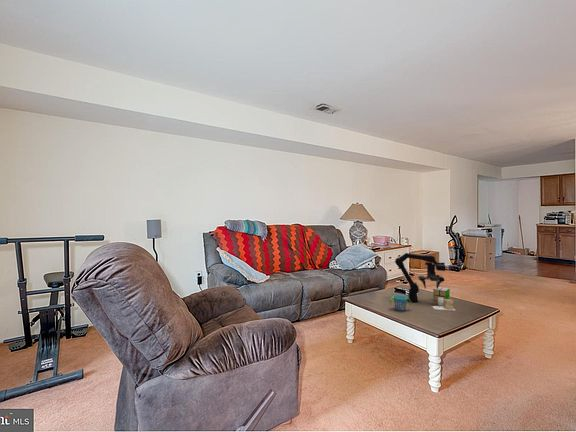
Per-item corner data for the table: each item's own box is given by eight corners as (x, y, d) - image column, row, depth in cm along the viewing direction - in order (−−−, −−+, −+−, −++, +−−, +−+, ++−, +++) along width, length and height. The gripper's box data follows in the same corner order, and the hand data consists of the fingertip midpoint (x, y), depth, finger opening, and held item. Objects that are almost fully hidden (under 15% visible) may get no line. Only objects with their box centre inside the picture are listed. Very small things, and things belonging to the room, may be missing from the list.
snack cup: (409, 308, 221) (409, 295, 221) (412, 312, 211) (412, 299, 211) (389, 306, 225) (389, 294, 225) (390, 311, 215) (390, 298, 215)
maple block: (444, 306, 221) (443, 299, 220) (450, 306, 220) (450, 299, 220) (446, 308, 216) (446, 301, 215) (453, 309, 215) (453, 301, 215)
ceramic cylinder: (438, 305, 226) (438, 298, 226) (437, 304, 230) (437, 296, 229) (444, 305, 225) (444, 298, 225) (442, 304, 229) (442, 297, 229)
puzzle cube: (437, 297, 246) (437, 286, 246) (449, 300, 239) (449, 288, 239) (433, 300, 239) (433, 288, 239) (446, 303, 232) (446, 291, 232)
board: (434, 310, 216) (434, 308, 216) (431, 306, 223) (431, 305, 223) (455, 311, 213) (455, 309, 213) (452, 307, 221) (452, 306, 221)
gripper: (421, 272, 226) (422, 291, 226) (446, 272, 222) (446, 291, 222) (418, 269, 236) (418, 287, 237) (441, 269, 233) (441, 288, 233)
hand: (431, 288), depth 232 cm, fingers open, 9 cm apart
